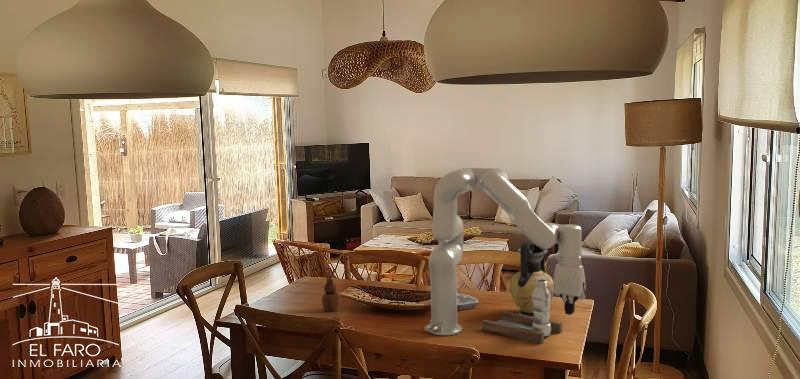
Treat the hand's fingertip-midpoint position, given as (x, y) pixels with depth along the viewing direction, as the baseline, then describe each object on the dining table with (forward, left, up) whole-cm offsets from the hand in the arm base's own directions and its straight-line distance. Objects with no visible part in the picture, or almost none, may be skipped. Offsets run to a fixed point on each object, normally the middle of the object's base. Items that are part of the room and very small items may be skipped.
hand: (569, 313), depth 221 cm
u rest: (0, +19, -10) cm, 21 cm away
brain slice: (+12, +58, -11) cm, 60 cm away
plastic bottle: (0, +11, -10) cm, 15 cm away
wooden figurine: (-24, +94, -10) cm, 97 cm away
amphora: (+20, +26, -10) cm, 34 cm away
